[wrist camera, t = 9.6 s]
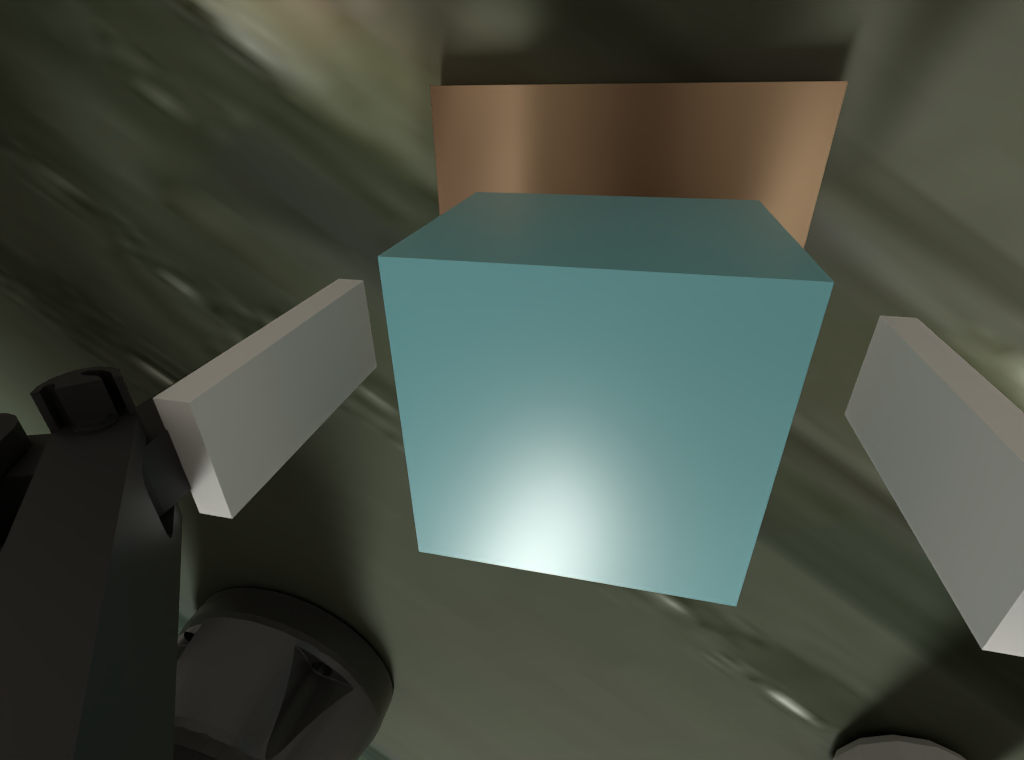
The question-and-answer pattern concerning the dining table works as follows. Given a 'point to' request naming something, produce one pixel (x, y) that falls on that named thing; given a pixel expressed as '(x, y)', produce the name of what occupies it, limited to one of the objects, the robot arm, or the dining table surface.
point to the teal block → (600, 382)
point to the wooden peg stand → (640, 141)
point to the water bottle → (894, 749)
